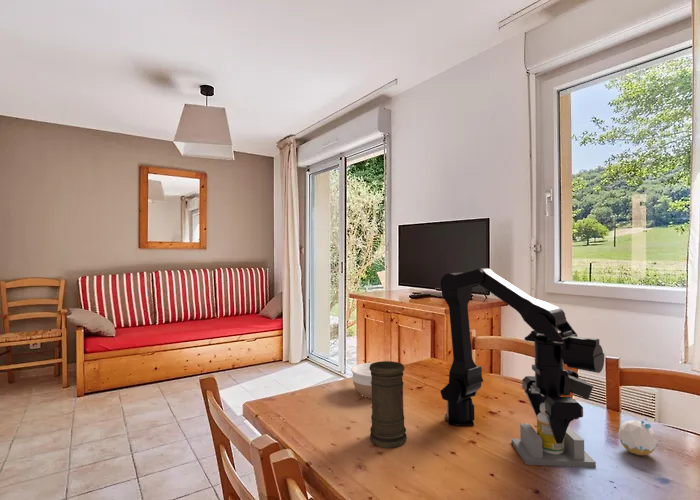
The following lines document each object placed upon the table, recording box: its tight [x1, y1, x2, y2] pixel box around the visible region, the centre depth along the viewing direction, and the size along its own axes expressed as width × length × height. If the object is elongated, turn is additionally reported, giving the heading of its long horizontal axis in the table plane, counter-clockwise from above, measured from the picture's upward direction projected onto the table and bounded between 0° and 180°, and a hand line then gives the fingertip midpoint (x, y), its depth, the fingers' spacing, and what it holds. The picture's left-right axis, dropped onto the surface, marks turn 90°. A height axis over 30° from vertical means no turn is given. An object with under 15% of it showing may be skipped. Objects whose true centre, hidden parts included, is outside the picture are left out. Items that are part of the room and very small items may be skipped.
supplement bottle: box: [536, 403, 564, 455], centre depth 89 cm, size 5×5×10 cm
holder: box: [511, 423, 597, 468], centre depth 89 cm, size 14×10×5 cm
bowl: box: [351, 362, 373, 399], centre depth 131 cm, size 16×16×8 cm
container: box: [369, 360, 408, 449], centre depth 98 cm, size 9×9×18 cm
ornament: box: [617, 418, 657, 456], centre depth 89 cm, size 7×7×8 cm
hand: (550, 433), depth 89 cm, fingers open, 9 cm apart
